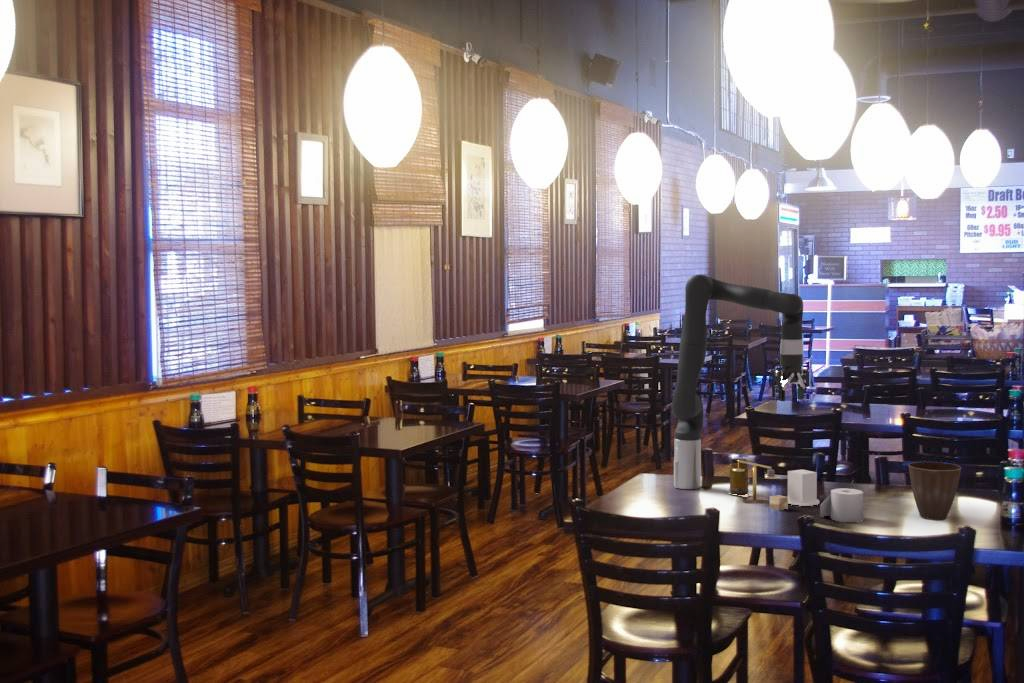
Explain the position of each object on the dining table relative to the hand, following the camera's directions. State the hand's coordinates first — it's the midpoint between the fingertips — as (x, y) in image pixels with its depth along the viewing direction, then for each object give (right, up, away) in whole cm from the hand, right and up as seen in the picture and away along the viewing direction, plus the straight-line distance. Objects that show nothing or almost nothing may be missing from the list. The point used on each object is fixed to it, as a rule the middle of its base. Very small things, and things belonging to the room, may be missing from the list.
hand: (791, 400), depth 353 cm
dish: (0, -33, -13) cm, 35 cm away
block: (-10, -34, -21) cm, 41 cm away
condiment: (-17, -33, +1) cm, 37 cm away
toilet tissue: (+6, -34, -36) cm, 50 cm away
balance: (-15, -33, -10) cm, 37 cm away
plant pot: (+34, -34, -35) cm, 60 cm away
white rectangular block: (0, -32, -13) cm, 34 cm away
